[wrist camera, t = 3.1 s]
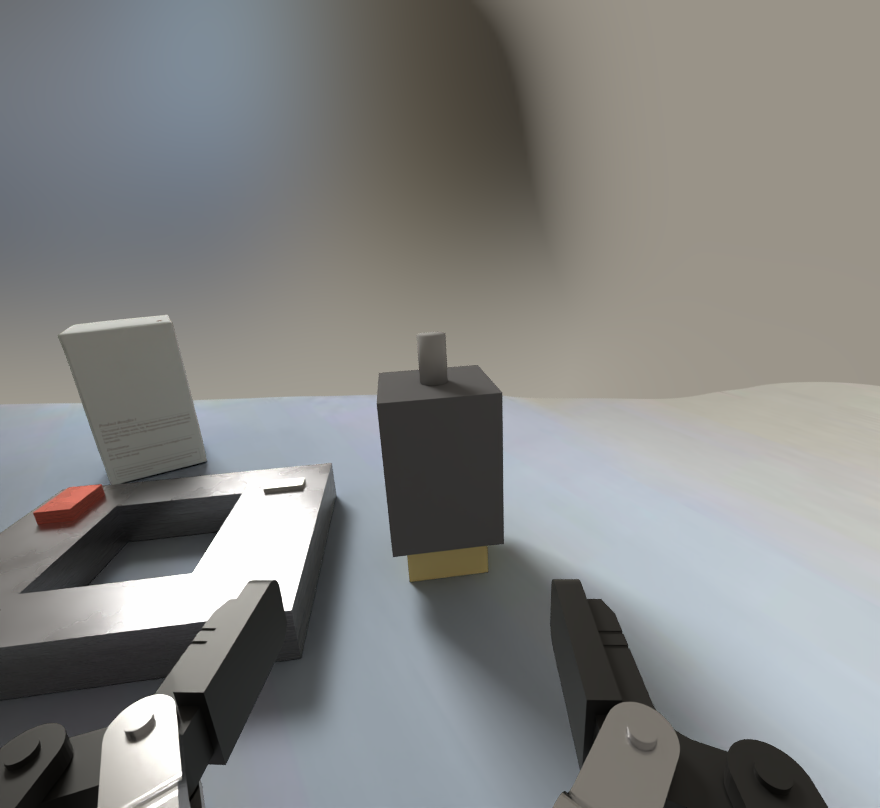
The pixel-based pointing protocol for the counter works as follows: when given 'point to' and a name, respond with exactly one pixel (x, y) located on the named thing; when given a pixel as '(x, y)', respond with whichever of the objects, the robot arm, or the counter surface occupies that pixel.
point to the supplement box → (135, 395)
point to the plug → (442, 463)
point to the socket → (156, 599)
